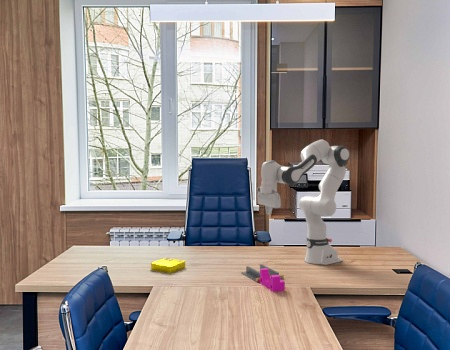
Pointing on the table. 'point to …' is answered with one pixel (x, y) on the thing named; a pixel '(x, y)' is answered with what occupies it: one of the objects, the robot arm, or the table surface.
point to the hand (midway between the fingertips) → (268, 214)
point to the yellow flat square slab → (168, 265)
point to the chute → (256, 275)
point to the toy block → (271, 281)
